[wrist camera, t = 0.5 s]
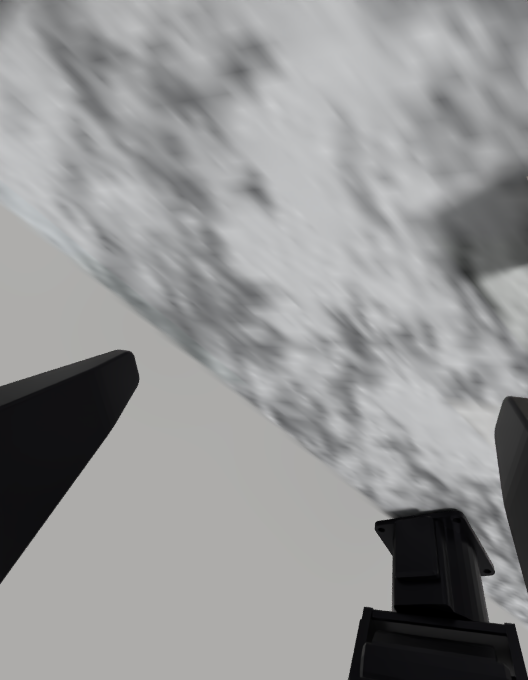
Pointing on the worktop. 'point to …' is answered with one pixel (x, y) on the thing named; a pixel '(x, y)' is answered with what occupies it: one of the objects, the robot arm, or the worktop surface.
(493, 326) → the worktop surface
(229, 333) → the worktop surface
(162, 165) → the worktop surface
